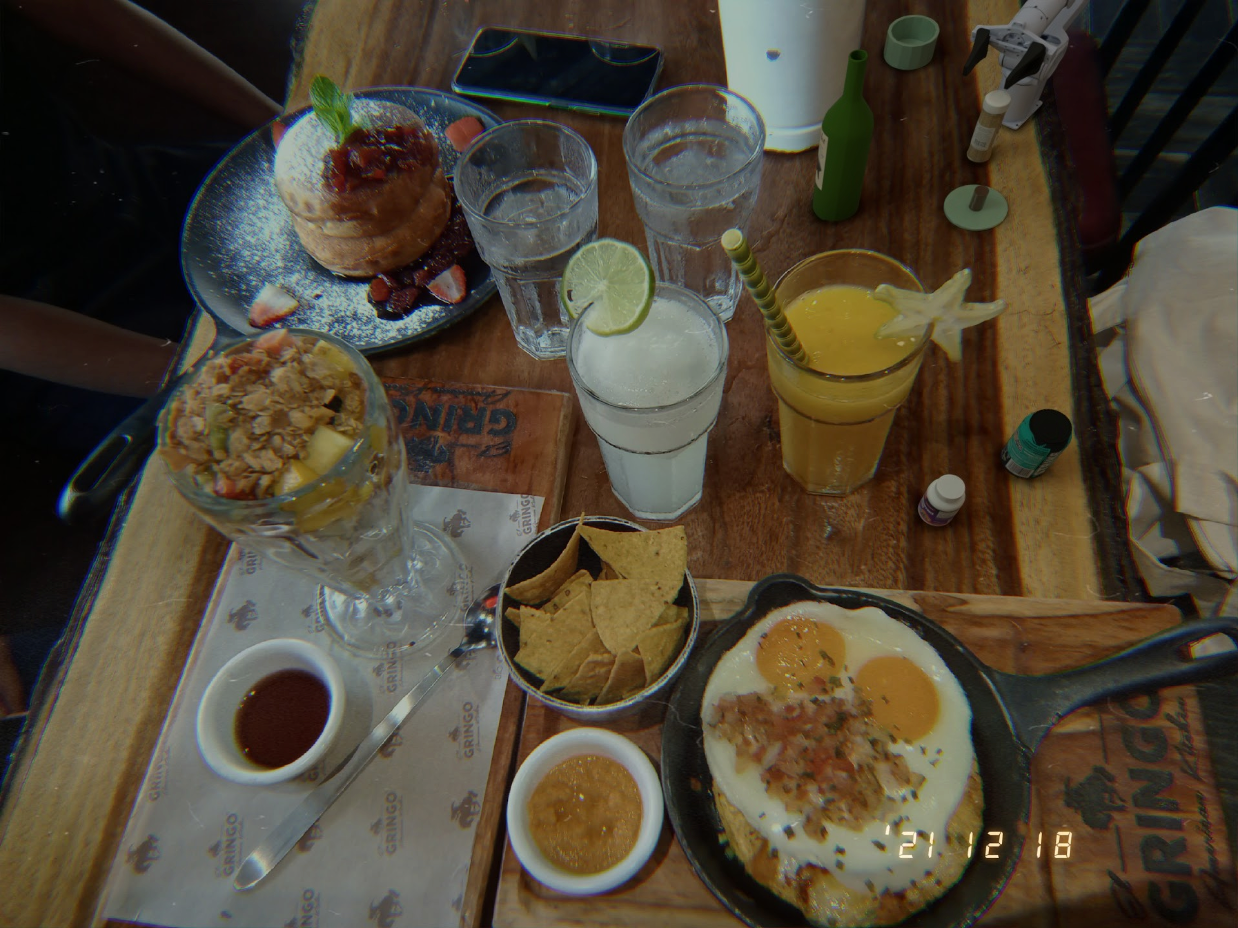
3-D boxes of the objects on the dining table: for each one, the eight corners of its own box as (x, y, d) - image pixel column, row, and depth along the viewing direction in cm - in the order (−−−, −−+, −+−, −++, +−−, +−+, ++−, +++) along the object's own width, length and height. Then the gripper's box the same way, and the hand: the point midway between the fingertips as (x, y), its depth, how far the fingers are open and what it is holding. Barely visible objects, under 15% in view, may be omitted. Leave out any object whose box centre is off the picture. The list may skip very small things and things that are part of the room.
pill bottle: (913, 498, 117) (927, 472, 109) (947, 493, 117) (964, 467, 108) (922, 529, 115) (937, 505, 106) (957, 524, 115) (975, 500, 106)
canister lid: (965, 180, 144) (972, 159, 140) (1018, 206, 140) (1027, 185, 135) (930, 215, 142) (936, 195, 137) (983, 242, 137) (991, 223, 133)
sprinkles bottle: (994, 156, 146) (1017, 97, 134) (977, 168, 145) (998, 109, 133) (977, 145, 148) (998, 85, 136) (960, 156, 147) (979, 97, 135)
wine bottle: (808, 194, 149) (824, 43, 120) (852, 186, 148) (879, 32, 119) (817, 226, 145) (836, 78, 116) (863, 218, 144) (894, 67, 115)
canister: (902, 33, 165) (907, 9, 160) (943, 49, 161) (949, 25, 156) (874, 59, 163) (878, 35, 158) (914, 76, 159) (919, 52, 154)
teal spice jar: (1046, 445, 118) (1076, 407, 107) (1046, 484, 115) (1078, 449, 105) (999, 439, 120) (1024, 402, 109) (998, 477, 117) (1024, 443, 106)
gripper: (995, -9, 128) (949, 46, 126) (1078, 13, 121) (1030, 71, 120) (988, 26, 134) (945, 79, 133) (1067, 49, 128) (1022, 105, 126)
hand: (985, 78), depth 127 cm, fingers open, 7 cm apart
